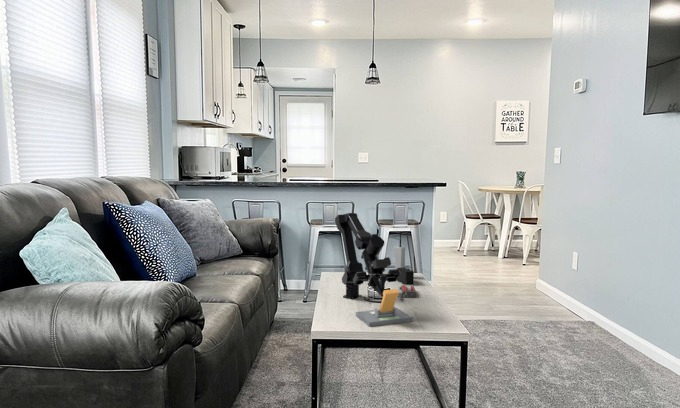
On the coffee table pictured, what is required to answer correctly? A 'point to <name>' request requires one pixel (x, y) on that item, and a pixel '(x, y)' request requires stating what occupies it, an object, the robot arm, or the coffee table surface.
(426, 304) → the coffee table surface
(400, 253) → the vintage mobile phone
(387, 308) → the breaker lever
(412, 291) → the walkie-talkie
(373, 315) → the box
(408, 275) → the digital camera
